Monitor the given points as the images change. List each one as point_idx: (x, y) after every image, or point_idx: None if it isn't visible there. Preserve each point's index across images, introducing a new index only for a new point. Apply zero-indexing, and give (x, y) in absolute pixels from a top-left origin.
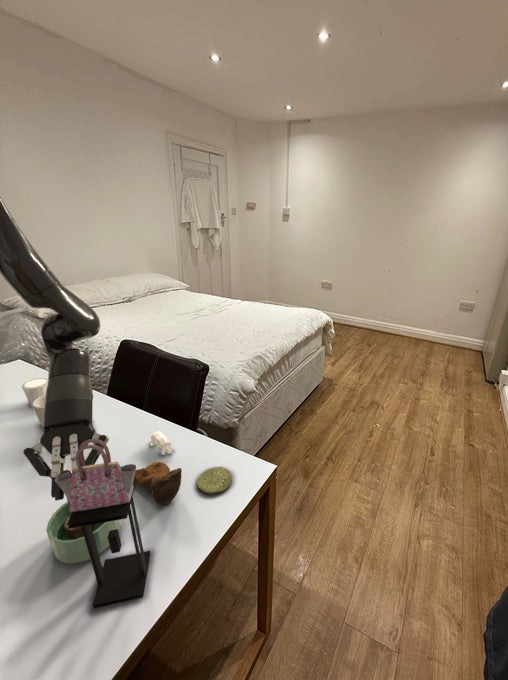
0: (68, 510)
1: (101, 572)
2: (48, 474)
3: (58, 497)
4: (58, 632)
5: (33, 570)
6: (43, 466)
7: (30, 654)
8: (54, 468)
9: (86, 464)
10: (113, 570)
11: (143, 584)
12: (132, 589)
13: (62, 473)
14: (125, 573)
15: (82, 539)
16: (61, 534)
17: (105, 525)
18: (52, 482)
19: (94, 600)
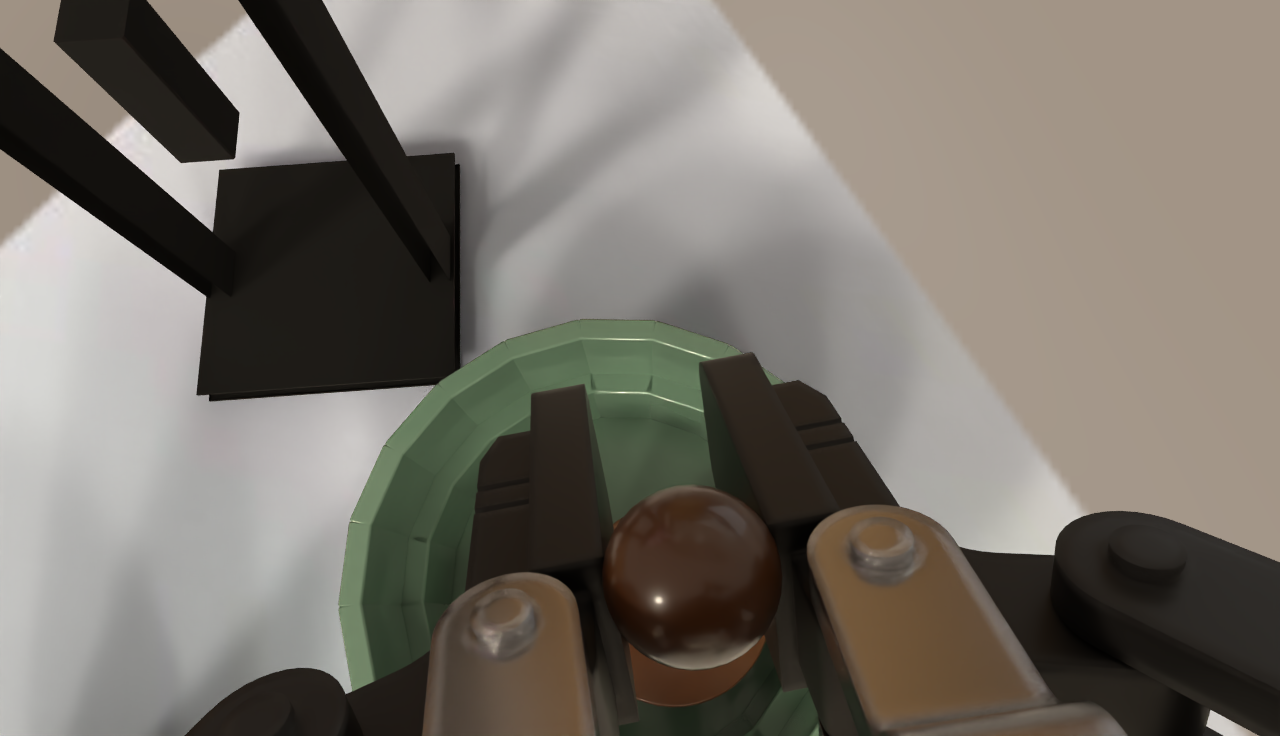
0: (800, 716)
1: (409, 228)
2: (1014, 576)
3: (713, 359)
4: (578, 100)
5: (858, 398)
6: (1236, 662)
7: (655, 44)
8: (940, 624)
9: (270, 698)
10: (389, 305)
11: (218, 211)
12: (271, 195)
13: (723, 524)
14: (321, 281)
15: (529, 335)
16: None
17: (394, 437)
18: (877, 495)
19: (449, 174)
